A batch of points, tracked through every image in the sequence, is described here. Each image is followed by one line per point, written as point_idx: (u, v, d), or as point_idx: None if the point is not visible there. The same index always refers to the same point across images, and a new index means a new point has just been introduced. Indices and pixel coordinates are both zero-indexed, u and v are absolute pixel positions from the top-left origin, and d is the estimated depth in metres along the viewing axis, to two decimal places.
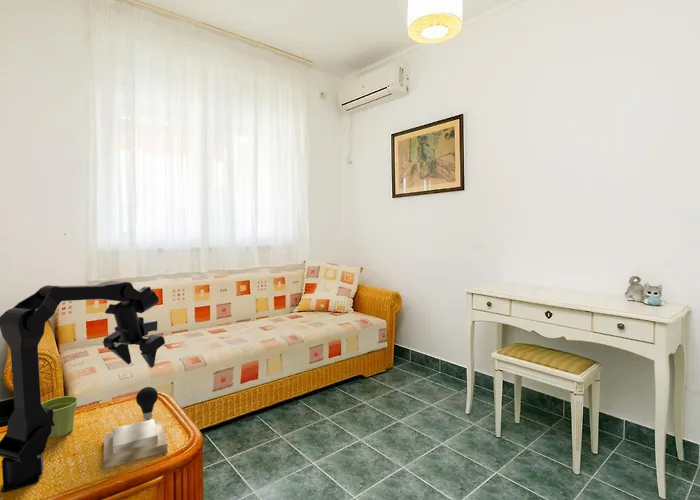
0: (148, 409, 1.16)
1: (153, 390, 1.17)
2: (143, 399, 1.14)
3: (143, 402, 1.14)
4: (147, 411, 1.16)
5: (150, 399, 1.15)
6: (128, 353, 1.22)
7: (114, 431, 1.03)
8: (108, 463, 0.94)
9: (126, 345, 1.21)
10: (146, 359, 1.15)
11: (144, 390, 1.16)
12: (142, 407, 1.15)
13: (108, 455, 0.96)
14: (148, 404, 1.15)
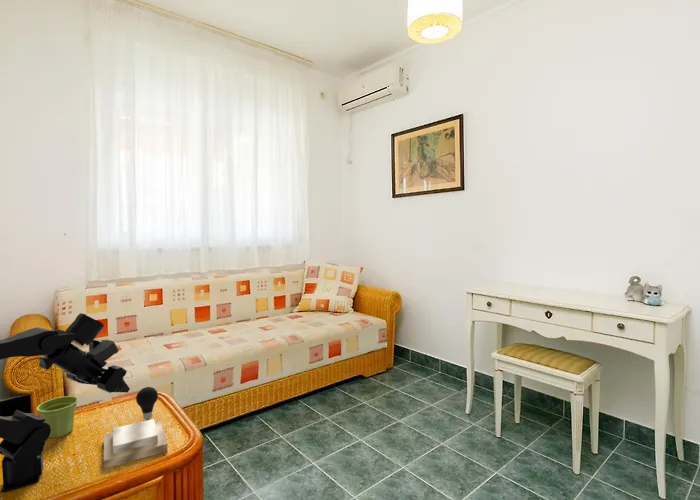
0: (148, 409, 1.16)
1: (153, 390, 1.17)
2: (143, 399, 1.14)
3: (143, 402, 1.14)
4: (147, 411, 1.16)
5: (150, 399, 1.15)
6: None
7: (114, 431, 1.03)
8: (108, 463, 0.94)
9: None
10: (114, 391, 1.02)
11: (144, 390, 1.16)
12: (142, 407, 1.15)
13: (108, 455, 0.96)
14: (148, 404, 1.15)
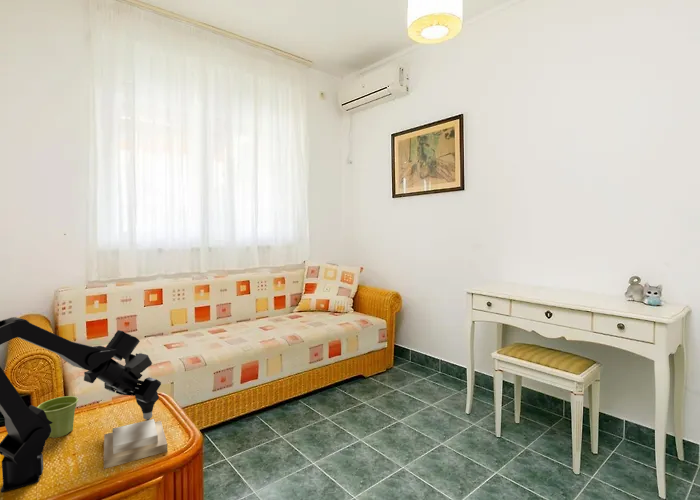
0: (148, 409, 1.16)
1: None
2: None
3: (143, 402, 1.14)
4: (147, 411, 1.16)
5: None
6: None
7: (114, 431, 1.03)
8: (108, 463, 0.94)
9: None
10: None
11: None
12: (142, 407, 1.15)
13: (108, 455, 0.96)
14: (148, 404, 1.15)
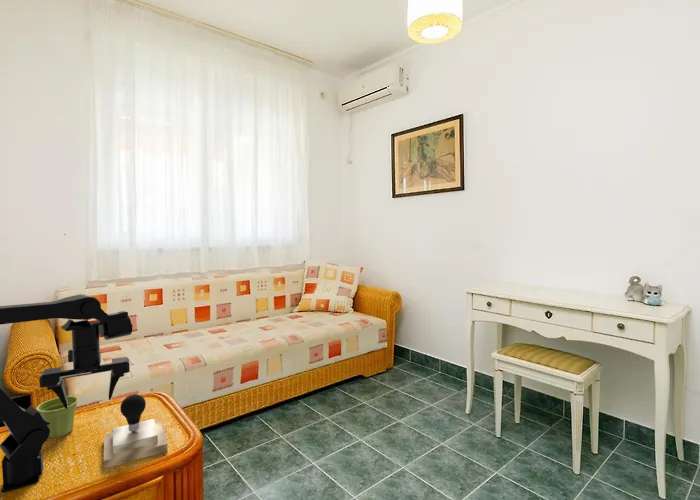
0: (131, 420, 1.01)
1: (137, 400, 1.02)
2: (123, 408, 1.00)
3: (124, 412, 1.00)
4: (130, 422, 1.01)
5: (130, 410, 1.00)
6: (65, 395, 0.98)
7: (114, 431, 1.03)
8: (108, 463, 0.94)
9: (64, 384, 0.98)
10: (113, 385, 1.01)
11: (128, 398, 1.01)
12: (125, 417, 1.01)
13: (108, 455, 0.96)
14: (129, 415, 1.00)
